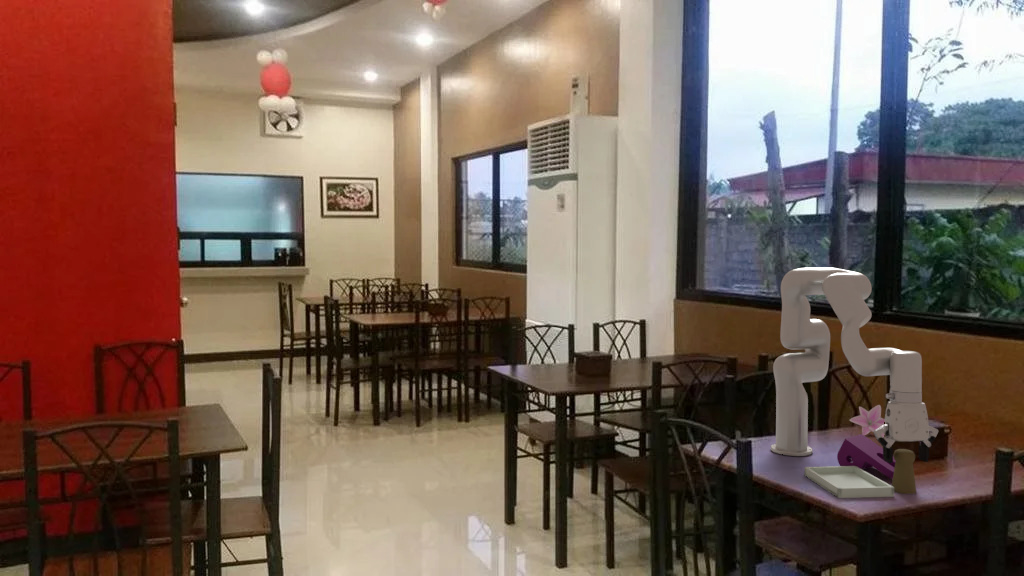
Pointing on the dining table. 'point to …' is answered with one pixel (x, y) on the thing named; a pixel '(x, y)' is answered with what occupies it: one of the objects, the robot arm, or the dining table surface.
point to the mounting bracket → (864, 455)
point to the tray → (849, 482)
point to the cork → (904, 472)
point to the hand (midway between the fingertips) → (905, 461)
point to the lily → (869, 419)
